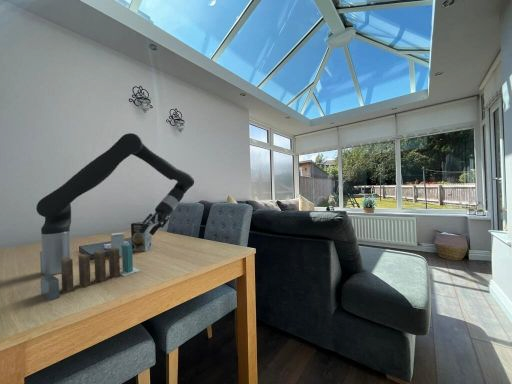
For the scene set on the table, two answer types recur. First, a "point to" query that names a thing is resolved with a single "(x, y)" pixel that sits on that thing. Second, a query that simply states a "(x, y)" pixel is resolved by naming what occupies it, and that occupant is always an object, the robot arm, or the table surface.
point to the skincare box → (117, 241)
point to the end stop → (50, 287)
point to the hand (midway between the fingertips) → (145, 233)
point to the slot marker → (129, 272)
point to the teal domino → (127, 258)
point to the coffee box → (140, 237)
